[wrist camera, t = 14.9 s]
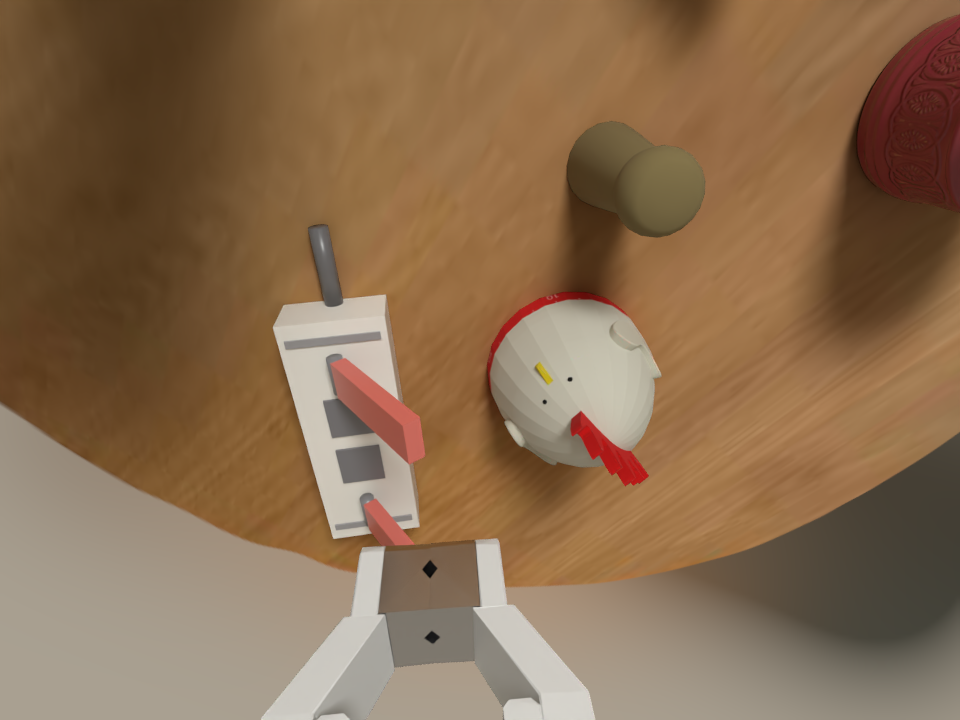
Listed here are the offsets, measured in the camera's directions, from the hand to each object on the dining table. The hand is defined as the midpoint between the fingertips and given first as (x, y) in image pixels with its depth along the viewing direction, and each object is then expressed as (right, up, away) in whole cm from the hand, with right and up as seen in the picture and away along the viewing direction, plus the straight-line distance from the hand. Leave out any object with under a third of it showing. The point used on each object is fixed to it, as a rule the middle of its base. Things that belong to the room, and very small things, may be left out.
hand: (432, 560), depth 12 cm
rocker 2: (-9, -9, +35) cm, 37 cm away
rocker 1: (-10, +3, +28) cm, 29 cm away
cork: (+10, +19, +28) cm, 35 cm away
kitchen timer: (+9, +4, +36) cm, 37 cm away
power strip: (-10, +2, +34) cm, 35 cm away
